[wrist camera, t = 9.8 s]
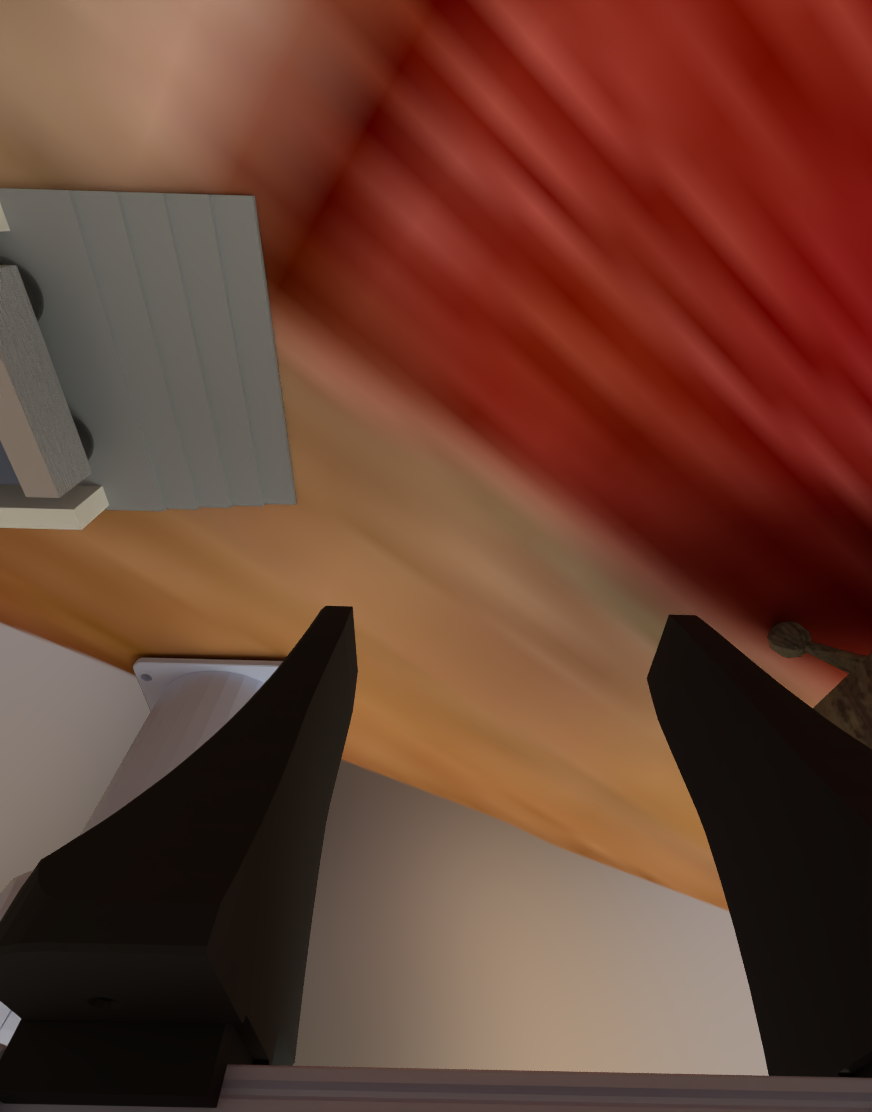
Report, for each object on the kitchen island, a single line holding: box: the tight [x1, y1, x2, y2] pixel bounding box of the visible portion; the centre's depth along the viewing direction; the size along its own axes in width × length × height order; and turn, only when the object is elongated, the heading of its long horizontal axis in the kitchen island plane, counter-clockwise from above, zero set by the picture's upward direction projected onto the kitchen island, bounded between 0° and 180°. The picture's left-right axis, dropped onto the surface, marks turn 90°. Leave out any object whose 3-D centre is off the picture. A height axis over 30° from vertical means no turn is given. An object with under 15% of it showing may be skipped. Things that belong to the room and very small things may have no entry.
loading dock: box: [0, 188, 297, 530], centre depth 17 cm, size 10×16×4 cm, turn 89°
